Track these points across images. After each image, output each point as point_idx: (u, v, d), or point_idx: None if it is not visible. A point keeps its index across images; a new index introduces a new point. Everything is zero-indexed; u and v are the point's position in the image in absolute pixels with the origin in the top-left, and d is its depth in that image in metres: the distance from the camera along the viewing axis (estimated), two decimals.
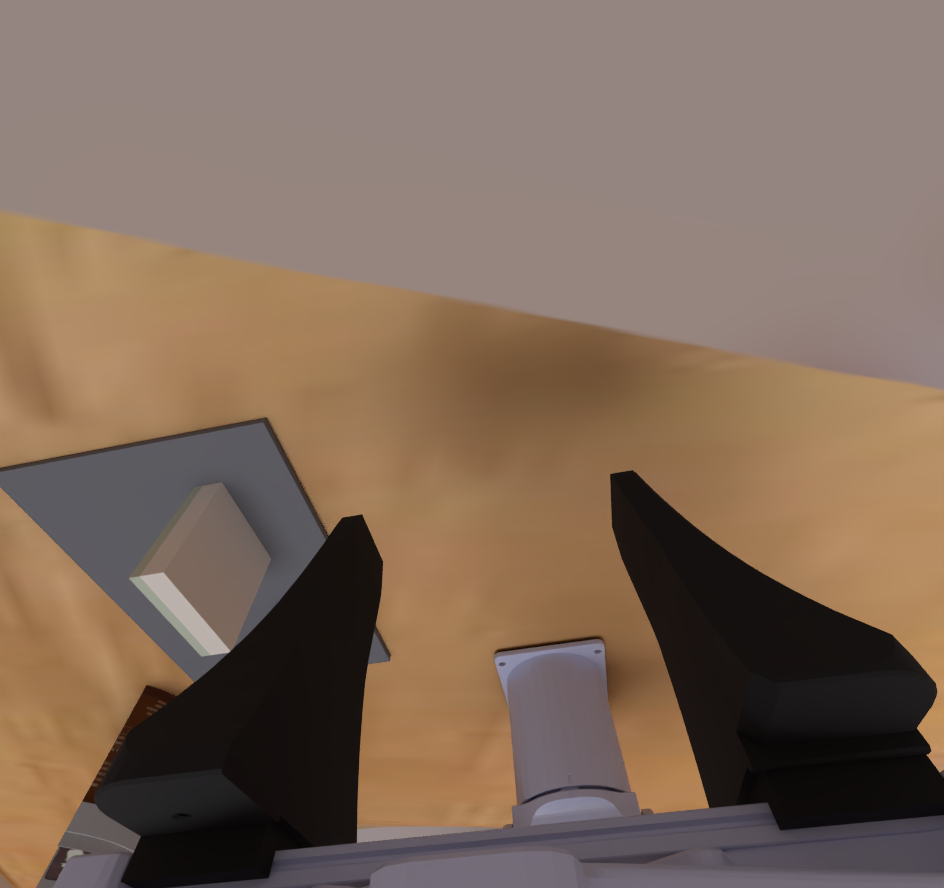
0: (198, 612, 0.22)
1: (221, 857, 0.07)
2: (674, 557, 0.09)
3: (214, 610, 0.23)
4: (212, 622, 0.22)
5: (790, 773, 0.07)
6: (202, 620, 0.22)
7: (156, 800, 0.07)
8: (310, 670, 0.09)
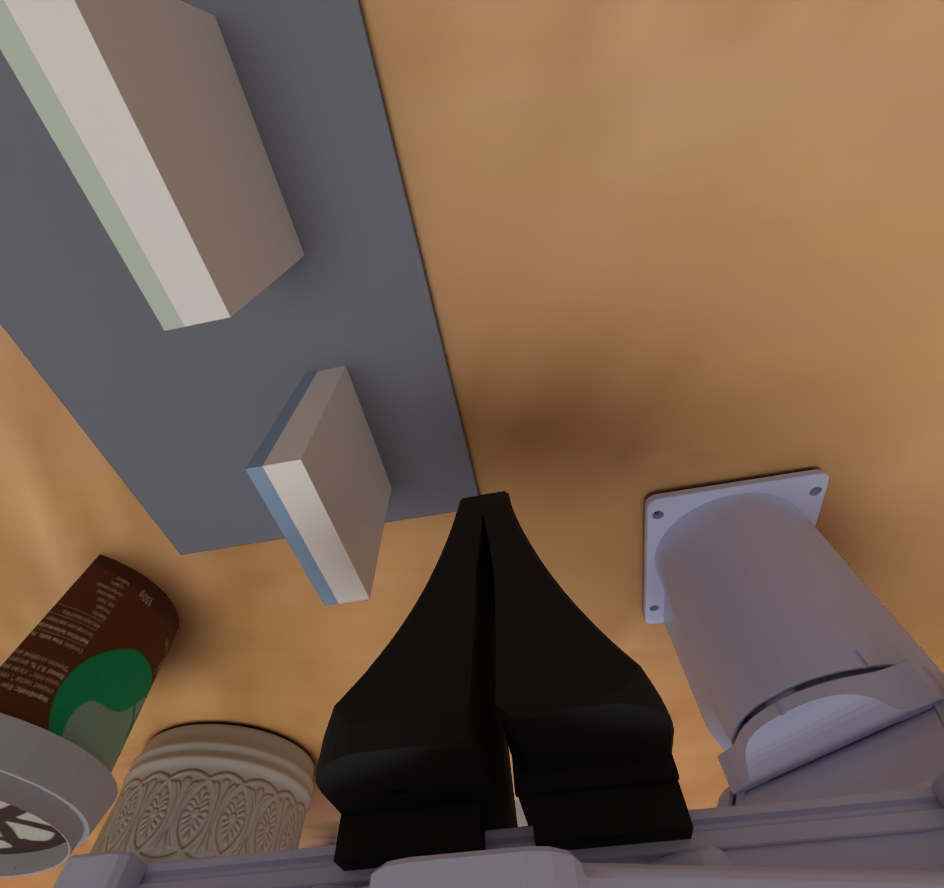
0: (151, 154, 0.09)
1: (438, 836, 0.07)
2: (500, 582, 0.10)
3: (192, 198, 0.10)
4: (186, 214, 0.10)
5: (552, 798, 0.07)
6: (161, 186, 0.09)
7: (382, 775, 0.07)
8: (482, 647, 0.09)
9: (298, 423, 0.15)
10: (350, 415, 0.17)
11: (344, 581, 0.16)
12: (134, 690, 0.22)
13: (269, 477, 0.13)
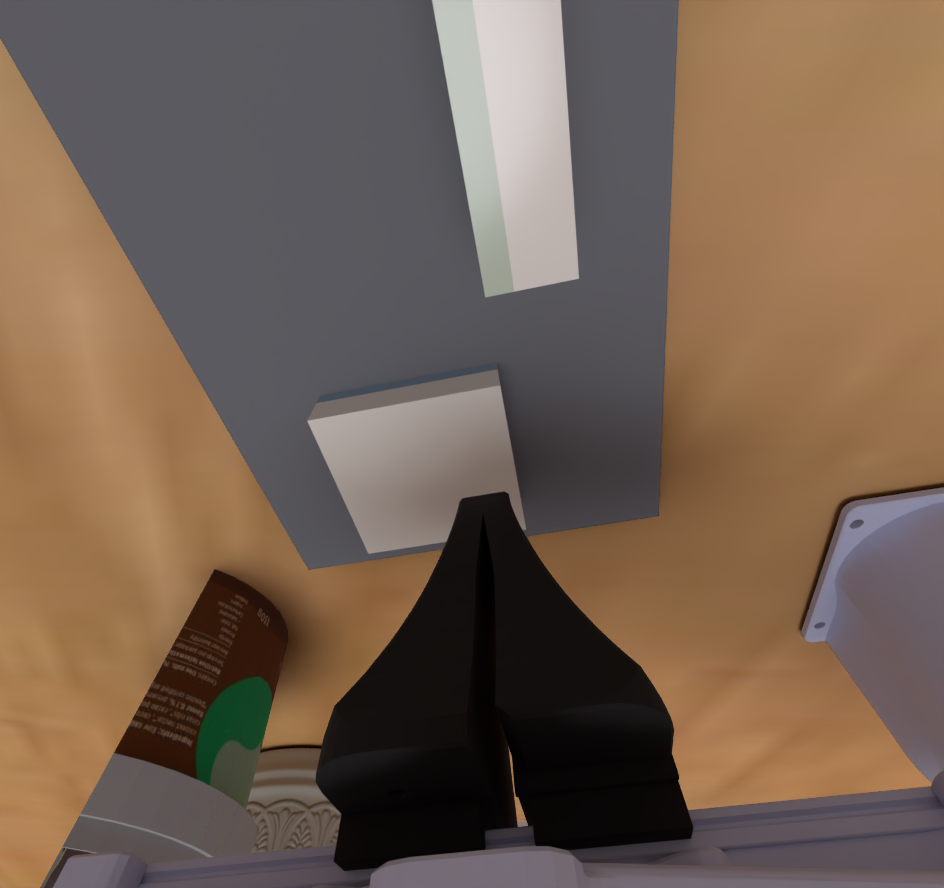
0: (562, 36, 0.06)
1: (438, 836, 0.07)
2: (500, 582, 0.10)
3: None
4: None
5: (552, 798, 0.07)
6: (560, 86, 0.06)
7: (382, 775, 0.07)
8: (481, 647, 0.09)
9: (375, 397, 0.15)
10: (460, 431, 0.15)
11: None
12: (262, 723, 0.20)
13: None
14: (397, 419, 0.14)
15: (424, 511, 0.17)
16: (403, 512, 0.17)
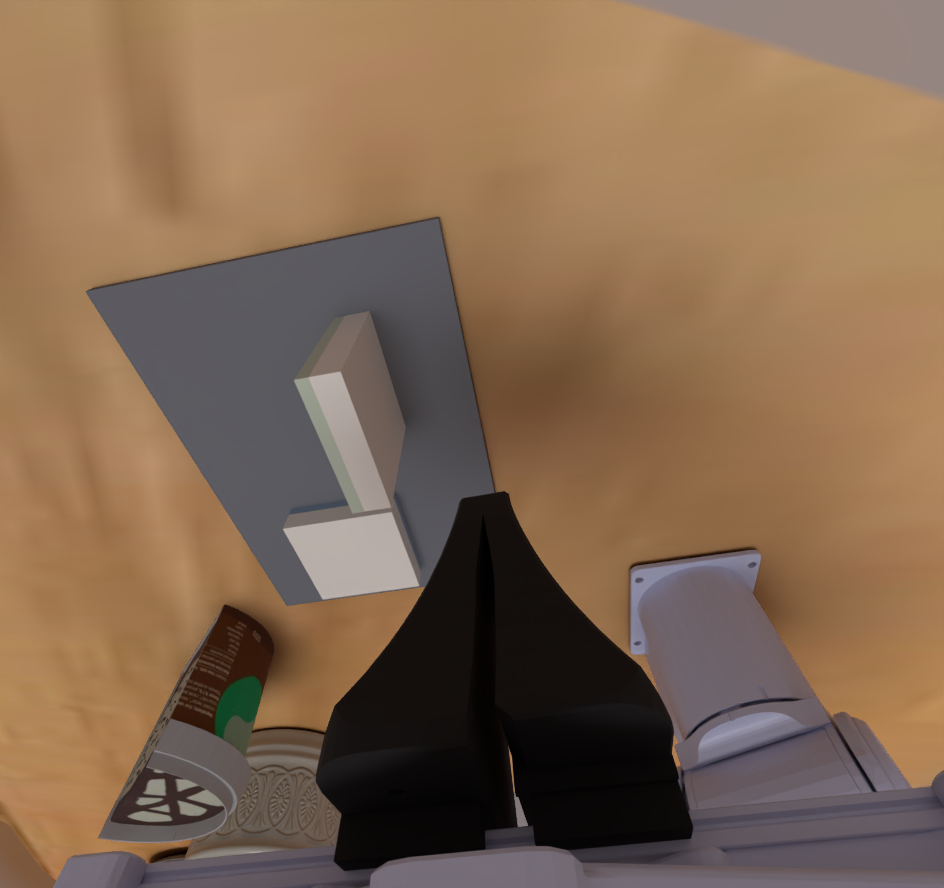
0: (367, 442, 0.17)
1: (438, 836, 0.07)
2: (500, 582, 0.10)
3: (376, 449, 0.18)
4: (376, 461, 0.18)
5: (552, 798, 0.07)
6: (369, 454, 0.17)
7: (382, 775, 0.07)
8: (481, 647, 0.09)
9: (323, 514, 0.26)
10: (372, 534, 0.26)
11: None
12: (255, 706, 0.30)
13: None
14: (334, 528, 0.25)
15: (355, 576, 0.27)
16: (342, 576, 0.27)
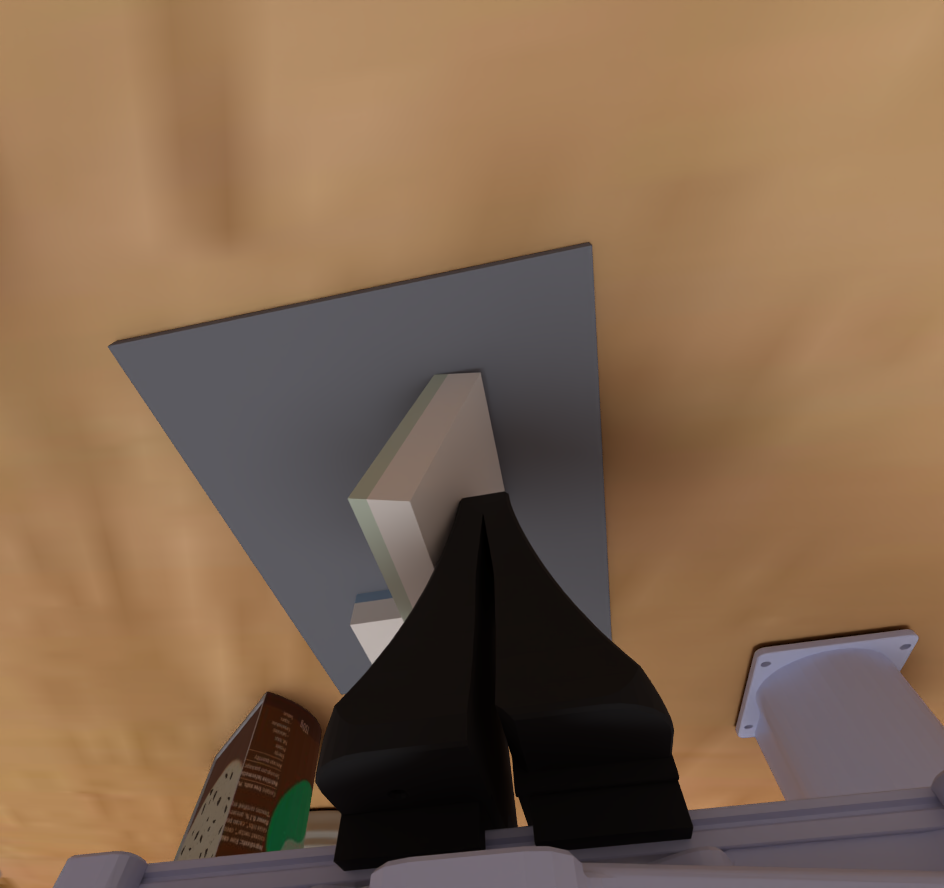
0: None
1: (438, 836, 0.07)
2: (500, 582, 0.10)
3: None
4: None
5: (553, 798, 0.07)
6: None
7: (382, 775, 0.07)
8: (482, 647, 0.09)
9: None
10: None
11: None
12: (306, 817, 0.26)
13: None
14: None
15: None
16: None
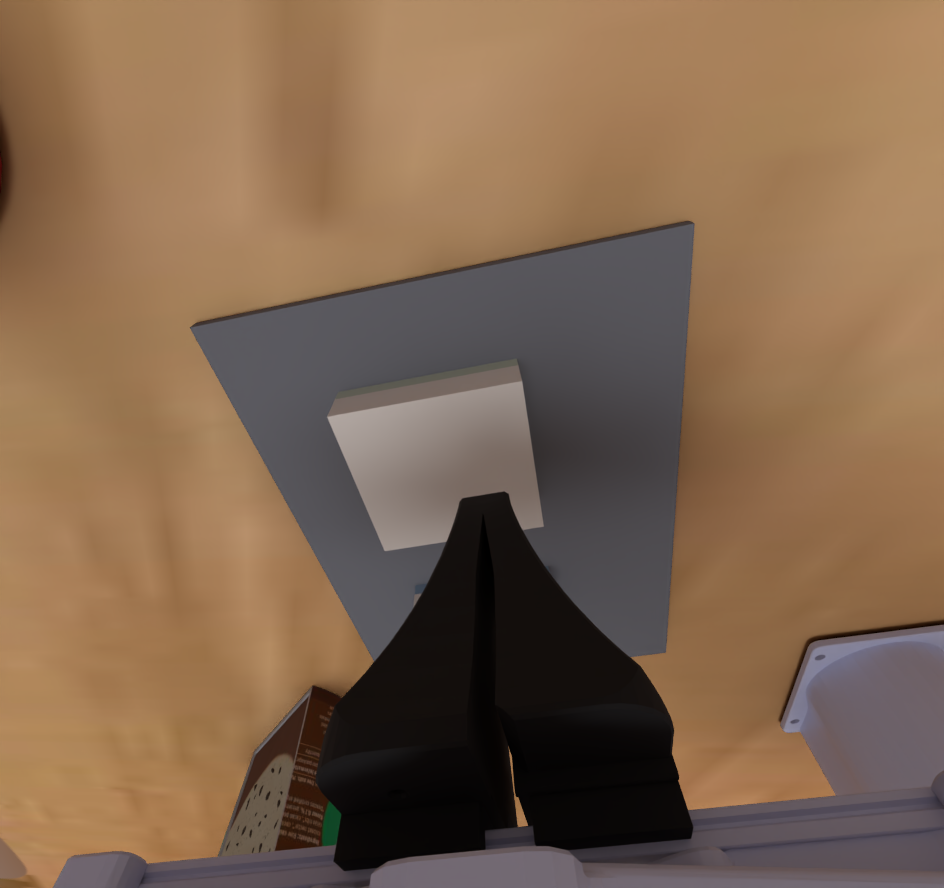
0: (358, 487, 0.16)
1: (438, 836, 0.07)
2: (500, 582, 0.10)
3: (385, 502, 0.16)
4: (374, 509, 0.17)
5: (553, 798, 0.07)
6: (362, 497, 0.16)
7: (382, 775, 0.07)
8: (481, 647, 0.09)
9: None
10: None
11: None
12: None
13: None
14: None
15: None
16: None
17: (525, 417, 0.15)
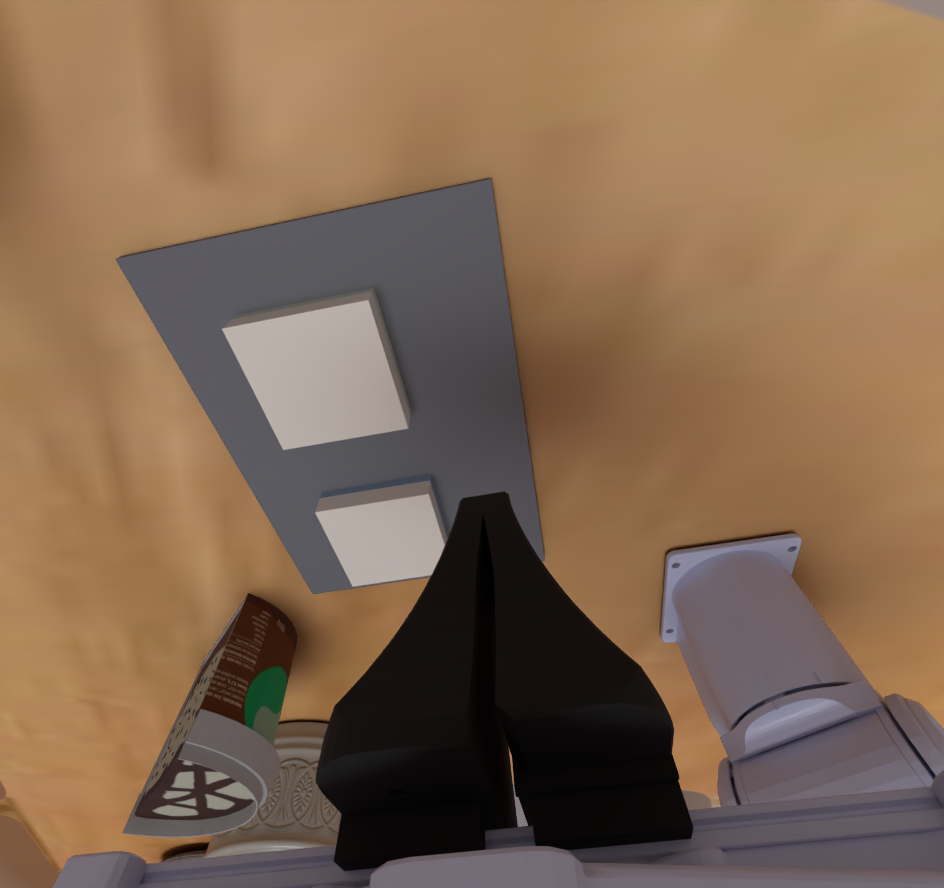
0: (254, 391, 0.20)
1: (438, 835, 0.07)
2: (500, 582, 0.10)
3: (278, 404, 0.21)
4: (269, 411, 0.21)
5: (553, 798, 0.07)
6: (259, 400, 0.21)
7: (383, 775, 0.07)
8: (482, 647, 0.09)
9: (356, 497, 0.25)
10: (407, 517, 0.25)
11: None
12: (281, 697, 0.30)
13: None
14: (368, 511, 0.24)
15: (387, 561, 0.27)
16: (374, 562, 0.27)
17: (376, 331, 0.19)
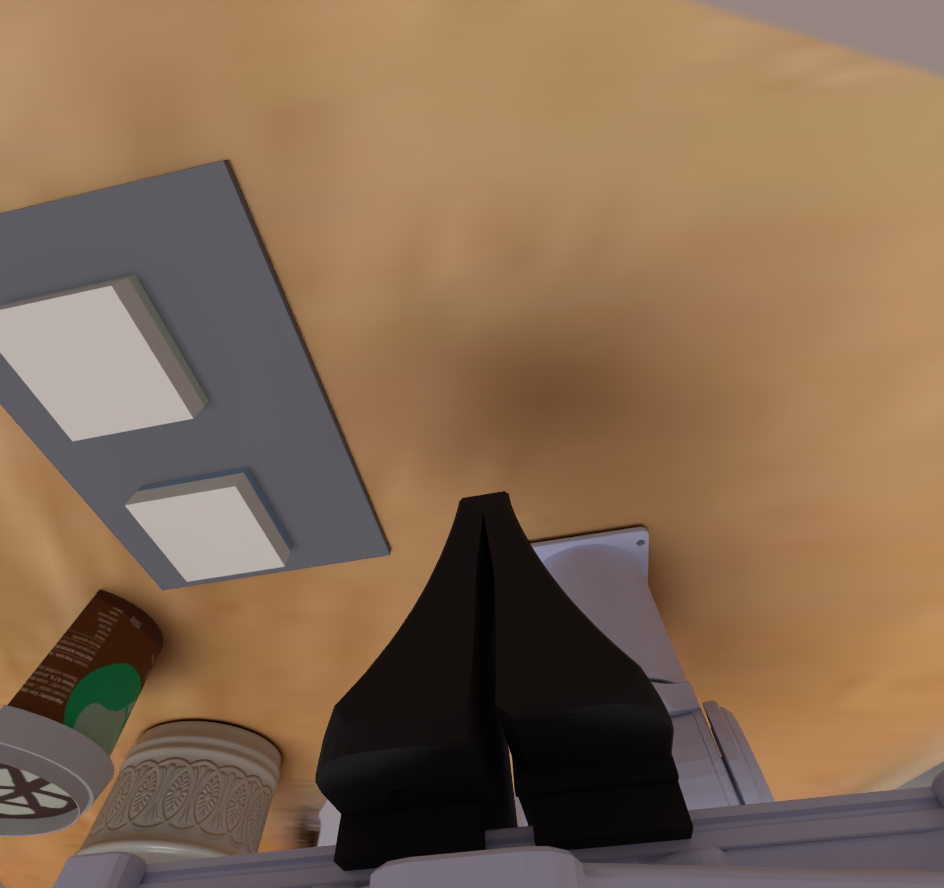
0: (24, 380, 0.20)
1: (438, 836, 0.07)
2: (500, 582, 0.10)
3: (52, 394, 0.20)
4: (45, 401, 0.21)
5: (553, 799, 0.07)
6: (33, 390, 0.20)
7: (382, 775, 0.07)
8: (481, 647, 0.09)
9: (169, 490, 0.24)
10: (220, 510, 0.24)
11: None
12: (127, 694, 0.29)
13: None
14: (179, 504, 0.24)
15: (214, 556, 0.26)
16: (201, 556, 0.26)
17: (129, 317, 0.19)
